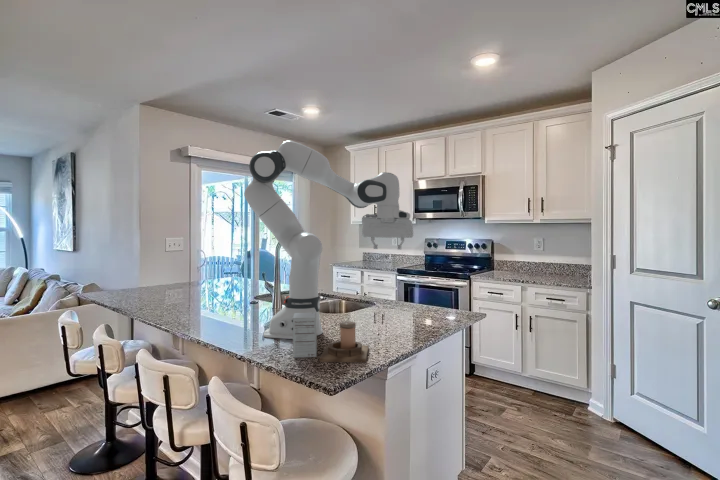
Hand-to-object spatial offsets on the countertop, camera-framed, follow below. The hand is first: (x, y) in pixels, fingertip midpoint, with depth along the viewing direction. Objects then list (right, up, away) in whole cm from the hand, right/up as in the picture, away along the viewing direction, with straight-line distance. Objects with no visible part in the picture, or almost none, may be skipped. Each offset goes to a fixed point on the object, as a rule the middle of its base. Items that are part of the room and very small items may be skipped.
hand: (387, 249), depth 154 cm
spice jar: (-15, -32, -30) cm, 46 cm away
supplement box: (-28, -33, -28) cm, 52 cm away
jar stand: (-15, -33, -30) cm, 47 cm away
